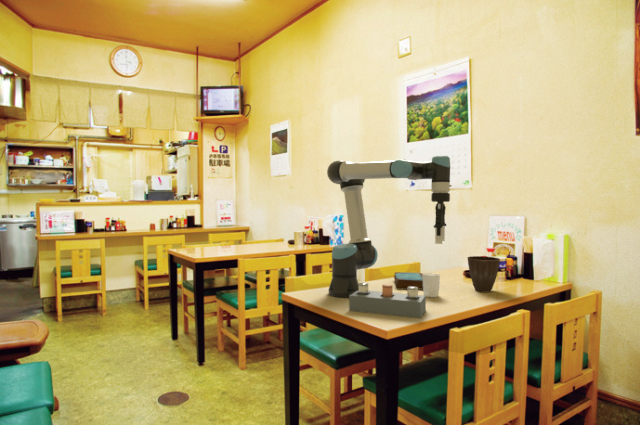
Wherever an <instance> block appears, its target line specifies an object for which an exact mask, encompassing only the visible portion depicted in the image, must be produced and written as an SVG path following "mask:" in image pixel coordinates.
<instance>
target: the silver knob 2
mask: <svg viewBox="0 0 640 425" xmlns="http://www.w3.org/2000/svg"><path fill="white" fill-rule="evenodd" d="M406 290H407V291H406V292H407V293H406V294H407V299H415V300H418V295H419V289H418V287H407V289H406Z"/></svg>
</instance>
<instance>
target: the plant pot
mask: <svg viewBox="0 0 640 425" xmlns="http://www.w3.org/2000/svg"><path fill="white" fill-rule="evenodd" d="M500 263H501V259H500V258H499V257H494V256H481V255H480V256H478V255H476V256H474V255H473V256H467V265H468V271H469V275H470V278H471V283H472V285H473V288H474V291H477V292H481V293H489V292H492V290H493V288H494V285H495V283H496V280H497V277H498V273H499V270H500Z"/></svg>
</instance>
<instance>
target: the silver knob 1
mask: <svg viewBox="0 0 640 425" xmlns="http://www.w3.org/2000/svg"><path fill="white" fill-rule="evenodd" d="M358 283H359V294H360V295H368V291H369V283H368V282H358Z"/></svg>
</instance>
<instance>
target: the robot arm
mask: <svg viewBox="0 0 640 425" xmlns="http://www.w3.org/2000/svg"><path fill="white" fill-rule="evenodd" d="M451 169H452V168H451V158H450V156H448V155H435V156H432V157H431V161H424V162H423V161H422V162H421V161H414V160H409V159H408V160H407V159H405V158H404V159H401V158H400V159H396V160H383V161H381V160H380V161H379V160H378V161H367V162H366V161H365V162H354V161H346V160H345V161H344V160H335V161H332V162H331V163H330V164H329V165H328V167H327V171H326V173H327V178H328V179H329V181H331V182H332V183H333V184H336V185H339V186H340V191H341V192H343V193H344V202H345V207H346V214H347V215H346V216H347V222H348V223H347V224H348V231H349V238H350V240H349V242H348V243H340V244H337V245H335V246H333V247H332V249H331V251H332V252H331V269H332V270H331V271H332V272H331V280H330V283H329V287H328V296H331V297H335V298H349V295H351V294H353V293H354V292H356V291H358V290H359V283H360V282H359V281H358V276H357V275H358V270H364V269H368V268H370V267H373V266H374V265H375V264H376V262H377V260H378V257H379V256H378V255H379V254H378V249H377V248H376V247H375V246H374V245H373V244H372V239H370V238H369V237H368V231H367V224H366V217H365V216H366V215H365V210H364V203H363V202H364V201H363V195H362V189H363V188H364V183H365V180H375V179H408V180H412V181H417V180H431V199H430V200H431V202H434V203H435V202H436V204H435V208H434V209H435V221H434V222H435V224H434V225H433V228H434V230H435V235H434V238H435V240H434V241H435V242H434V243H435V244H437V245H438V244H439V245H443V242H445V240H446V239H445V237H446V236H445V235H446V234H445V233H446V231H445V230H446V229H445V228H446V227H447V223H446V222H445V219H446V218H445V217H446V207H447V206H446V205H445V203H447V202H448V203H449V202H450V200H451V197H450V196H451V194H450V191H451V188H452V184H451V183H450V182H451Z"/></svg>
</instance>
